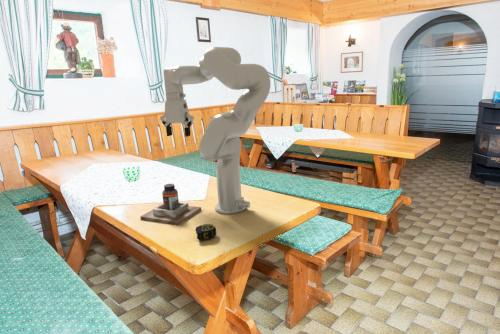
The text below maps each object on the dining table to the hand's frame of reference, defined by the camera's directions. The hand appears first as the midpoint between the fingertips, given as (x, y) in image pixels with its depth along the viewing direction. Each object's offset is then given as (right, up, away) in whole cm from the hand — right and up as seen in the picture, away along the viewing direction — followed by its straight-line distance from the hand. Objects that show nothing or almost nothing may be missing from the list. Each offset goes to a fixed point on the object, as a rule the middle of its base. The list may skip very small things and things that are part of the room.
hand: (178, 135), depth 157 cm
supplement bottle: (0, -32, -15) cm, 35 cm away
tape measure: (+16, -38, -37) cm, 56 cm away
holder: (0, -33, -15) cm, 36 cm away
